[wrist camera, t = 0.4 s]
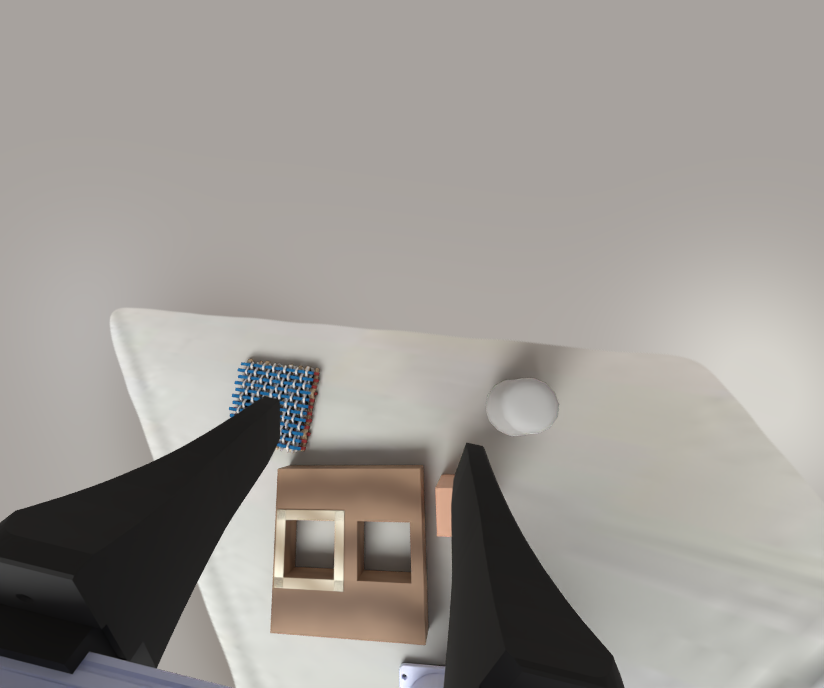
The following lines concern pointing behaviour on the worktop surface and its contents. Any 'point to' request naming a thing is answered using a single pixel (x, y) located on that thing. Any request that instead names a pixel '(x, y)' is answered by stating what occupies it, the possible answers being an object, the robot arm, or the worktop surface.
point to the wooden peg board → (350, 554)
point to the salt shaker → (522, 406)
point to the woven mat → (294, 398)
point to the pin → (444, 505)
